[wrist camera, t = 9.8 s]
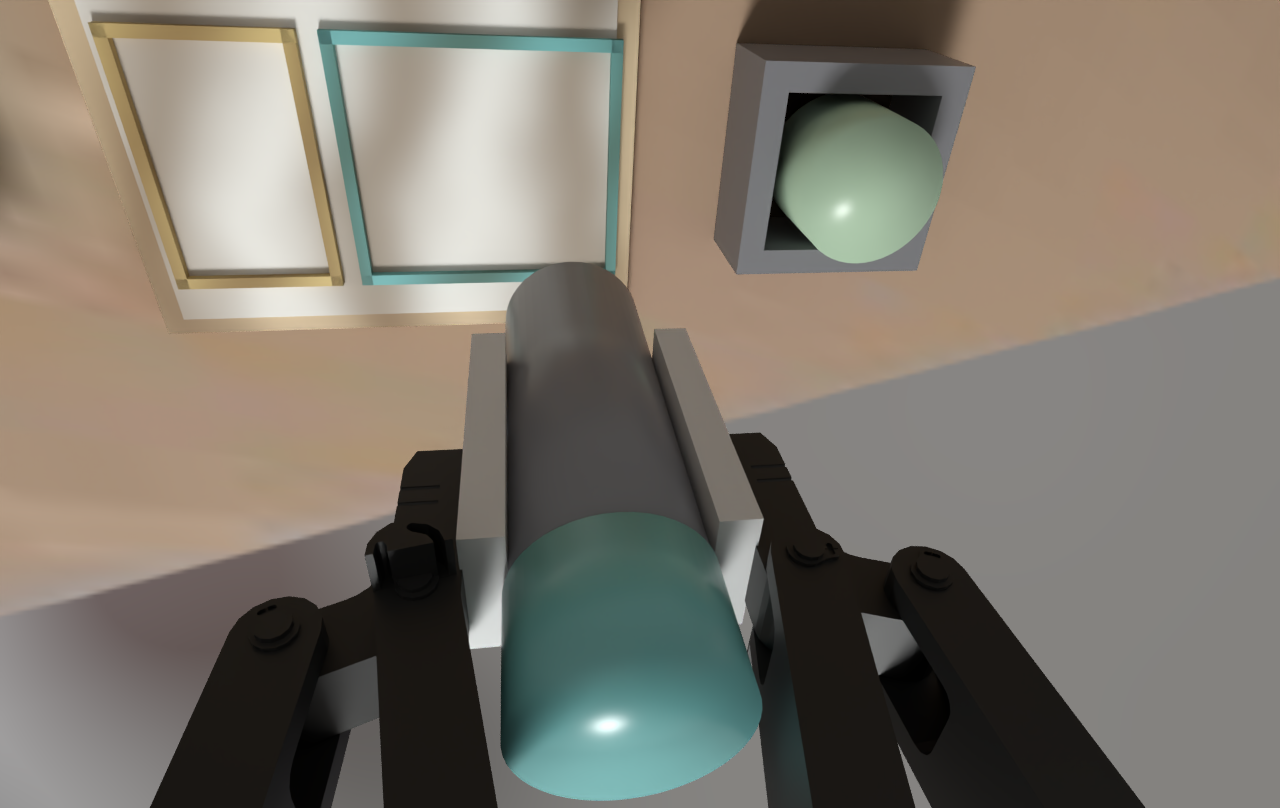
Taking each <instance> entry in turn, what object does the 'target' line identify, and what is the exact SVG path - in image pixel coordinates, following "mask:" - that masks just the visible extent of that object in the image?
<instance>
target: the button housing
mask: <svg viewBox="0 0 1280 808" xmlns="http://www.w3.org/2000/svg"><path fill="white" fill-rule="evenodd" d="M975 68H976V67H975V66H972V65H969V64H966V63H964V62H961V61H958V60H955V59H952V58H949V57H946V56H944V55H941V54H938V53H935V52H932V51H929V50H926V49H898V48H868V47H838V46H808V45H778V44H748V43H737V44H736V53H735V61H734V70H733V79H732V87H731V96H730V104H729V113H728V122H727V130H726V139H725V147H724V156H723V165H722V173H721V182H720V190H719V199H718V208H717V216H716V225H715V233H714V240H715V242H716V244H717V245H718V247H719V248H720V250H721V251H722V253H723V254H724V256H725V258H726V259H727V261H728V262H729V264H730V265H731V267H732V268H733V270H734V271H735V273H736V274H774V273H820V272H866V271H912V270H917V268H918V264H919V261H920V257H921V254H922V250H923V247H924V244H925V240H926V237H927V233H928V230H929V226H930V223H931V219H932V216H933V213H934V211H933V213H932V215H931V216H930V218H929V219H928V221H927V223H926V224H925V225H924V226H923V228H922V229H921V230H920V231H919V232H918V234H917V235H916V236H915V237H914V238H913V239H912V240H910V241H909V242H908V243H907V244H906V245H904V246H903V247H902V248H900V249H899V250H897V251H895V252H894V253H892V254H890V255H888V256H886V257H884V258H881V259H878V260H875V261H871V262H866V263H845V262H840V261H837V260H834V259H832V258H830V257H828V256H826V255H824V254H823V253H822V252H820V251H819V250H818V249H817V248H816V247H815V246H814V245H813V244H812V242H811V241H810V240H809V239H808V238H807V237H806V236H805V235H804V234H803V233H802V232H801V231H800V229H799V228H798V227H797V226H796V225H795V224H794V223H793V222H792V221H791V220H790V219H789V218H788V217H769V215H770V208H771V202H772V196H773V189H774V183H775V177H776V171H777V164H778V158H779V152H780V145H781V139H782V133H783V127H784V120H785V114H786V108H787V101H788V95H789V93H834V94H880V95H892V98H891V103H890V107H889V110H891V111H893V112H895V113H896V114H898V115H900V116H902V117H904V118H906V119H908V120H909V121H911V122H913V123H915V124H917V125H918V126H920V127H921V128H923V129H924V130H925V131H926V132H927V133H928V134H930V136H931V137H932V138H933V140H934V141H935V143H936V145H937V147H938V149H939V151H940V154H941V157H942V163H943V178H944V175H945V171H946V168H947V165H948V161H949V158H950V154H951V151H952V147H953V144H954V140H955V137H956V134H957V130H958V127H959V123H960V120H961V116H962V113H963V110H964V106H965V103H966V99H967V96H968V92H969V89H970V86H971V82H972V79H973V75H974V72H975Z"/></svg>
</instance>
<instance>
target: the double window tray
mask: <svg viewBox="0 0 1280 808" xmlns="http://www.w3.org/2000/svg"><path fill="white" fill-rule="evenodd" d="M48 1H49V4H50V7H51V9H52V12H53V15H54V18H55V20H56V23H57V26H58V29H59V32H60V34H61V37H62V40H63V43H64V45H65V48H66V51H67V54H68V56H69V59H70V62H71V65H72V68H73V70H74V73H75V76H76V79H77V81H78V84H79V87H80V90H81V92H82V95H83V98H84V101H85V104H86V106H87V109H88V112H89V115H90V117H91V120H92V123H93V126H94V128H95V131H96V134H97V137H98V139H99V142H100V145H101V148H102V151H103V153H104V156H105V159H106V162H107V164H108V167H109V170H110V173H111V175H112V178H113V181H114V184H115V187H116V189H117V192H118V195H119V198H120V200H121V203H122V206H123V209H124V211H125V214H126V217H127V220H128V222H129V225H130V228H131V231H132V234H133V236H134V239H135V242H136V245H137V247H138V250H139V253H140V256H141V258H142V261H143V264H144V267H145V270H146V272H147V275H148V278H149V281H150V283H151V286H152V289H153V292H154V294H155V297H156V300H157V303H158V305H159V308H160V311H161V314H162V317H163V319H164V322H165V325H166V328H167V330H168V333H169V334H181V333H212V332H244V331H276V330H308V329H339V328H371V327H403V326H434V325H466V324H498V323H506V312H507V307H508V304H509V301H510V299H511V297H512V295H513V293H514V292H515V291H516V289H517V288H518V286H519V285H520V284H521V283H522V282H523V281H524V280H525V279H526V278H528V277H529V276H530V275H531V274H533V273H535V272H536V271H538V270H540V269H542V268H544V267H547V266H550V265H553V264H557V263H562V262H584V263H589V264H593V265H596V266H599V267H601V268H603V269H606V270H607V271H609V272H611V273H612V274H614V275H615V276H616V277H617V278H619V279H620V280H621V281H622V282H623V284H624V285H625V286H626V287H627V281H628V260H629V238H630V217H631V195H632V174H633V153H634V131H635V110H636V89H637V67H638V46H639V24H640V3H641V0H48Z"/></svg>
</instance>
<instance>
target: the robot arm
mask: <svg viewBox="0 0 1280 808" xmlns="http://www.w3.org/2000/svg"><path fill="white" fill-rule="evenodd" d="M652 361H653V364H654V367H655V370H656V374H657V377H658V380H659V383H660V386H661V390H662V393H663V396H664V399H665V402H666V406H667V409H668V412H669V415H670V418H671V422H672V425H673V428H674V431H675V434H676V438H677V441H678V444H679V447H680V450H681V454H682V457H683V460H684V463H685V466H686V470H687V473H688V476H689V479H690V482H691V486H692V489H693V492H694V495H695V498H696V502H697V505H698V508H699V511H700V514H701V518H702V521H703V524H704V527H705V530H706V534H707V537H708V540H709V543H710V546H711V547H712V548H713V550H714V552H715V554H716V556H717V559H718V562H719V565H720V568H721V571H722V574H723V578H724V581H725V584H726V587H727V590H728V593H729V597H730V600H731V603H732V606H733V609H734V612H735V615H736V619H737V622H738V624H742V621H743V617H744V612H745V606H747V609H748V612H749V615H750V618H751V621H752V623H753V627H752V632H751V636H750V640H749V645H748V650H747V653H748V656H749V660H750V663H752V669H753V672H754V675H755V679H756V682H757V685H758V688H759V691H760V695H761V698H762V714H761V719H760V722H759V730H760V739H761V746H762V747H761V748H762V756H763V765H764V773H765V782H766V791H767V799H768V808H915V804H914V801H913V798H912V794H911V790H910V787H909V783H908V779H907V776H906V772H905V768H904V765H903V761H902V758H901V754H900V751H899V747H898V744H899V746H900V748H901V750H902V752H903V754H904V756H905V758H906V759H907V762H908V763H909V765H910V767H911V769H912V771H913V773H914V775H915V777H916V779H917V781H918V782H919V784H920V786H921V788H922V790H923V792H924V794H925V796H926V798H927V800H928V801H929V803H930V805H931V807H932V808H1145V806H1144V805H1143V804H1142V803H1141V801H1140V800H1139V799H1138V797H1137V796H1136V795H1135V793H1134V792H1133V791H1132V790H1131V788H1130V787H1129V785H1128V784H1127V783H1126V781H1125V780H1124V779H1123V777H1122V776H1121V775H1120V774H1119V772H1118V771H1117V770H1116V768H1115V767H1114V766H1113V764H1112V763H1111V762H1110V761H1109V759H1108V758H1107V756H1106V755H1105V754H1104V752H1103V751H1102V750H1101V748H1100V747H1099V746H1098V745H1097V743H1096V742H1095V741H1094V739H1093V738H1092V737H1091V735H1090V734H1089V733H1088V732H1087V730H1086V729H1085V727H1084V726H1083V725H1082V723H1081V722H1080V721H1079V720H1078V718H1077V717H1076V716H1075V714H1074V713H1073V712H1072V711H1071V709H1070V708H1069V706H1068V705H1067V704H1066V702H1065V701H1064V700H1063V698H1062V697H1061V696H1060V695H1059V693H1058V692H1057V691H1056V689H1055V688H1054V687H1053V685H1052V684H1051V683H1050V681H1049V680H1048V679H1047V677H1046V676H1045V675H1044V674H1043V672H1042V671H1041V669H1040V668H1039V667H1038V666H1037V664H1036V663H1035V662H1034V660H1033V659H1032V658H1031V656H1030V655H1029V654H1028V652H1027V651H1026V650H1025V648H1024V647H1023V646H1022V645H1021V643H1020V642H1019V640H1018V639H1017V638H1016V636H1015V635H1014V634H1013V633H1012V631H1011V630H1010V629H1009V627H1008V626H1007V625H1006V623H1005V622H1004V621H1003V619H1002V618H1001V617H1000V615H999V614H998V613H997V611H996V610H995V609H994V607H993V606H992V605H991V604H990V602H989V601H988V600H987V598H986V597H985V596H984V594H983V593H982V592H981V590H980V589H979V588H978V586H977V585H976V584H975V582H974V581H973V580H972V579H971V577H970V576H969V575H968V573H967V572H966V571H965V569H964V568H963V567H962V566H960V564H959V563H957V562H956V561H955V560H954V559H953V558H951V557H950V556H948V555H946V554H945V553H943V552H941V551H938V550H935V549H932V548H928V547H922V546H910V547H907V548H904V549H901V550H899V551H898V552H897V553H896V555H894V557H893V558H892V561H891V563H888V562H883V561H877V560H871V559H866V558H861V557H857V556H853V555H849V554H847V553H845V552H843V550H842V548H841V546H840V544H839V543H838V542H837V541H835V540H834V539H833V538H832V537H831V536H830V535H828V534H826V533H824V532H822V531H820V530H818V529H816V527H815V525H814V522H813V521H812V519H811V516H810V514H809V512H808V510H807V508H806V506H805V504H804V502H803V500H802V498H801V496H800V494H799V492H798V490H797V488H796V486H795V484H794V482H793V481H792V480H791V475H790V473H789V471H788V469H787V468H786V467H785V463H784V461H783V459H782V457H781V455H780V453H779V451H778V449H777V447H776V446H775V445H774V444H773V443H771V442H770V441H769V440H768V439H767V438H766V437H764V436H763V435H762V434H761V433H743V434H729V433H728V431H727V428H726V426H725V423H724V421H723V418H722V416H721V414H720V411H719V409H718V406H717V404H716V401H715V399H714V397H713V394H712V392H711V389H710V387H709V384H708V382H707V380H706V377H705V375H704V372H703V370H702V367H701V365H700V363H699V360H698V358H697V355H696V353H695V350H694V348H693V346H692V343H691V341H690V338H689V336H688V333H687V331H686V329H685V328H676V329H654V341H653V355H652ZM365 560H366V564H367V568H368V572H369V577H370V581H371V586H370V587H369V588H368V589H366V590H364V591H363V592H361V593H360V594H358V595H356V596H354V597H351V598H349V599H347V600H344V601H341V602H338V603H336V604H333V605H330V606H326V607H323V608H320V609H318V607H317V606H316V605H315V604H313V603H312V602H310V601H308V600H307V599H305V598H298V597H283V598H277V599H271V600H269V601H266V602H264V603H262V604H260V605H258V606H255V607H253V608H252V609H251V610H250V611H248V612H247V613H246V614H244V615H243V616H242V617H241V618H239V619H238V621H237V622H236V624H235V625H234V626H233V628H232V629H231V631H230V632H229V634H228V636H227V639H226V641H225V643H224V646H223V647H222V650H221V652H220V654H219V657H218V658H217V661H216V663H215V665H214V667H213V670H212V672H211V674H210V676H209V678H208V681H207V683H206V685H205V687H204V689H203V692H202V694H201V696H200V698H199V701H198V703H197V705H196V707H195V709H194V712H193V714H192V716H191V718H190V720H189V722H188V725H187V727H186V729H185V731H184V733H183V736H182V738H181V740H180V742H179V745H178V747H177V749H176V751H175V754H174V756H173V758H172V760H171V762H170V764H169V767H168V769H167V771H166V773H165V776H164V778H163V780H162V782H161V784H160V786H159V789H158V791H157V793H156V795H155V798H154V800H153V802H152V804H151V806H150V808H331V806H332V802H333V798H334V794H335V790H336V787H337V783H338V779H339V775H340V771H341V767H342V763H343V759H344V755H345V751H346V747H347V743H348V739H349V735H350V731H351V729H352V728H354V727H357V726H359V725H362V724H364V723H367V722H369V721H371V720H373V719H376V718H380V719H379V721H380V739H381V761H382V780H383V800H384V808H498V807H497V801H496V795H495V789H494V784H493V778H492V772H491V766H490V761H489V755H488V749H487V743H486V737H485V733H484V726H483V720H482V715H481V709H480V703H479V698H478V691H477V685H476V680H475V674H474V669H473V663H472V657H471V651H470V649H475V648H486V647H497V646H501V624H502V589H503V585H504V581H505V578H506V576H507V572H508V530H507V352H506V336H505V333H487V334H472V339H471V352H470V365H469V378H468V391H467V403H466V416H465V429H464V442H463V449H454V450H435V451H417V452H416V454H415V455H414V456H413V457H412V459H411V460H410V461H409V463H408V464H407V465H406V466H405V468H404V470H403V475H402V481H401V486H400V492H399V498H398V506H397V509H396V514H395V520H394V523H390V524H389V525H387V526H386V527H384V528H382V529H381V530H379V531H378V532H377V533H376V534H375V535H374V536H373V537H372V539H371V540H370V541H369V542H368V544H367V548H366V552H365Z"/></svg>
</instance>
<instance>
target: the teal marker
mask: <svg viewBox="0 0 1280 808" xmlns="http://www.w3.org/2000/svg"><path fill="white" fill-rule="evenodd" d="M506 352H507V530H508V572H507V576H506V578H505V581H504V585H503V589H502V624H501V750H502V755H503V758H504V760H505V762H506V764H507V765H508V767H509V768H510V769H511V770H512V772H513V773H514V774H515V775H516V776H518V777H519V778H520V779H521V780H523V781H524V782H526V783H527V784H529V785H531V786H532V787H535V788H537V789H539V790H541V791H544V792H547V793H550V794H553V795H557V796H561V797H566V798H572V799H580V800H596V801H598V800H621V799H630V798H637V797H643V796H647V795H652V794H657V793H660V792H663V791H667V790H671V789H674V788H677V787H679V786H682V785H685V784H687V783H690V782H692V781H694V780H696V779H698V778H701V777H702V776H704V775H706V774H708V773H710V772H712V771H714V770H715V769H717V768H718V767H720V766H722V765H723V764H725V763H726V762H727V761H728V760H730V759H731V758H732V757H734V756H735V755H736V754H737V753H738V752H739V751H740V750H741V749H742V748H743V747H744V746H745V745H746V744H747V742H748V741H749V740H750V739H751V737H752V736H753V734H754V732H755V731H756V729H757V727H758V724H759V722H760V719H761V714H762V698H761V695H760V691H759V688H758V685H757V682H756V679H755V675H754V672H753V669H752V666H751V663H750V660H749V656H748V653H747V650H746V647H745V644H744V641H743V638H742V634H741V631H740V628H739V625H738V622H737V619H736V615H735V612H734V609H733V606H732V603H731V600H730V597H729V593H728V590H727V587H726V584H725V581H724V578H723V574H722V571H721V568H720V565H719V562H718V559H717V556H716V554H715V552H714V550H713V548H712V547H711V546H710V543H709V540H708V537H707V534H706V530H705V527H704V524H703V521H702V518H701V514H700V511H699V508H698V505H697V502H696V498H695V495H694V492H693V489H692V486H691V482H690V479H689V476H688V473H687V470H686V466H685V463H684V460H683V457H682V454H681V450H680V447H679V444H678V441H677V438H676V434H675V431H674V428H673V425H672V422H671V418H670V415H669V412H668V409H667V406H666V402H665V399H664V396H663V393H662V390H661V386H660V383H659V380H658V377H657V374H656V370H655V367H654V364H653V361H652V358H651V354H650V351H649V348H648V345H647V342H646V338H645V335H644V332H643V329H642V326H641V322H640V319H639V316H638V313H637V310H636V306H635V303H634V300H633V298H632V296H631V293H630V292H629V290H628V289H627V287H626V286H625V285H624V284H623V282H622V281H621V280H620V279H619V278H617V277H616V276H615V275H614V274H612V273H611V272H609V271H607V270H606V269H603V268H601V267H599V266H596V265H593V264H589V263H584V262H562V263H557V264H553V265H550V266H547V267H544V268H542V269H540V270H538V271H536V272H535V273H533V274H531V275H530V276H529V277H528V278H526V279H525V280H524V281H523V282H522V283H521V284H520V285H519V286H518V288H517V289H516V291H515V292H514V293H513V295H512V297H511V299H510V301H509V304H508V307H507V312H506Z"/></svg>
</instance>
